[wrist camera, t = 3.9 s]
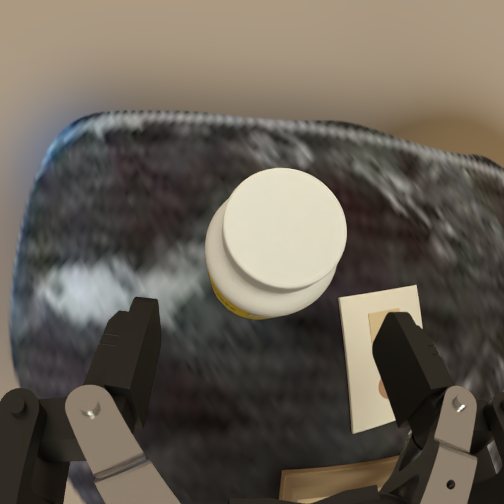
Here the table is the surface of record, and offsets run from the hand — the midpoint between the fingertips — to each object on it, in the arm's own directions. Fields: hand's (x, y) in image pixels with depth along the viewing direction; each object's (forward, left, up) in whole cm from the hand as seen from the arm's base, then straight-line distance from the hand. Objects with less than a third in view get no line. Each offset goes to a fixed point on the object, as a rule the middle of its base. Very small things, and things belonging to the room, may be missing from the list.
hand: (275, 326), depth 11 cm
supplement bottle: (0, -3, -8) cm, 9 cm away
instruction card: (-9, +2, -8) cm, 12 cm away
